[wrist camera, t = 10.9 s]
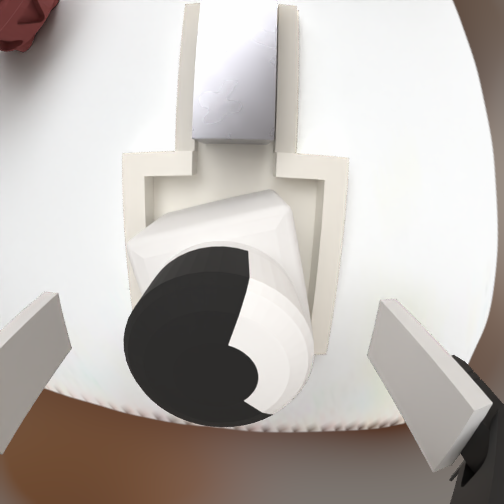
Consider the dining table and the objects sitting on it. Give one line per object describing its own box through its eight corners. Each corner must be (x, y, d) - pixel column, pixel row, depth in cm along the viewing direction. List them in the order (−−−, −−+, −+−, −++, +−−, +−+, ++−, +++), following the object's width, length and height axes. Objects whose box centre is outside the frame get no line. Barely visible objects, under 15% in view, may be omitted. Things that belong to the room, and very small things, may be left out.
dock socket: (148, 329, 24) (138, 349, 21) (148, 17, 17) (136, 1, 14) (317, 333, 25) (326, 354, 22) (335, 21, 18) (347, 4, 15)
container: (192, 313, 23) (152, 453, 10) (162, 213, 21) (63, 289, 8) (294, 292, 23) (342, 428, 10) (274, 187, 20) (322, 232, 8)
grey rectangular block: (203, 143, 19) (190, 138, 14) (211, 10, 16) (202, -26, 11) (267, 144, 19) (275, 140, 14) (271, 11, 16) (278, -26, 12)
